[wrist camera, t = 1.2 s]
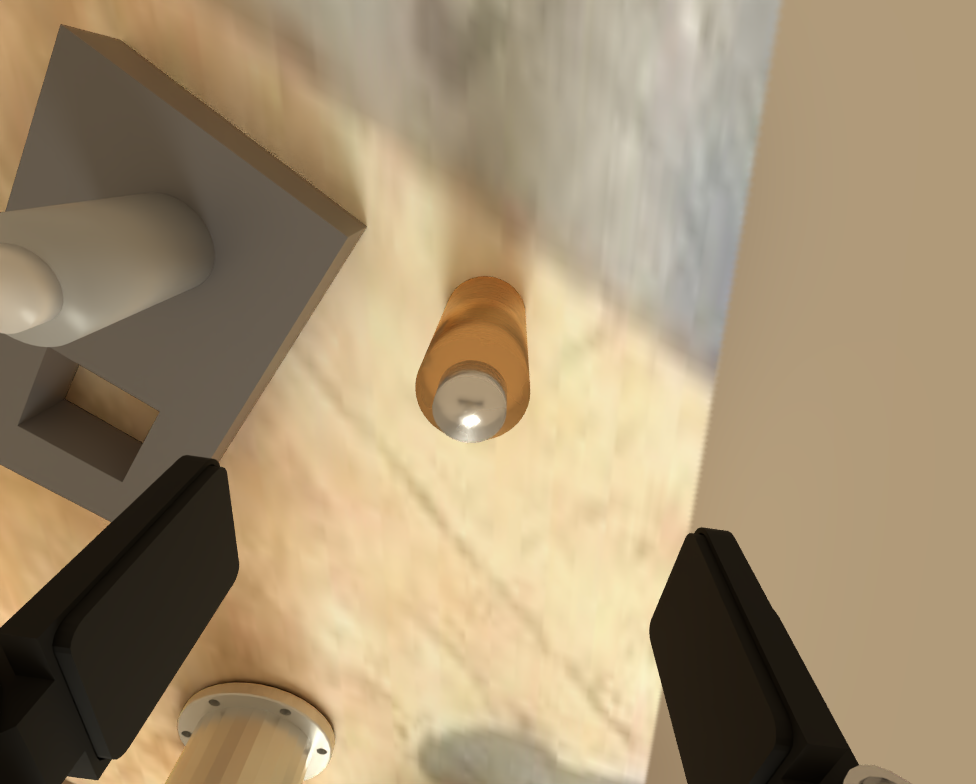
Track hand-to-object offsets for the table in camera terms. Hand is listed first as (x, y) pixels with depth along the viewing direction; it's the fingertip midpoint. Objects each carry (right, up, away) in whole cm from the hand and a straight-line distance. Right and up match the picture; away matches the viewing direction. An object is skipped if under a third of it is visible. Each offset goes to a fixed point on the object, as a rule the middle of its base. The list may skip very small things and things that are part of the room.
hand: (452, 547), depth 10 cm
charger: (-16, +7, +16) cm, 24 cm away
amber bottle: (+1, +7, +15) cm, 16 cm away
